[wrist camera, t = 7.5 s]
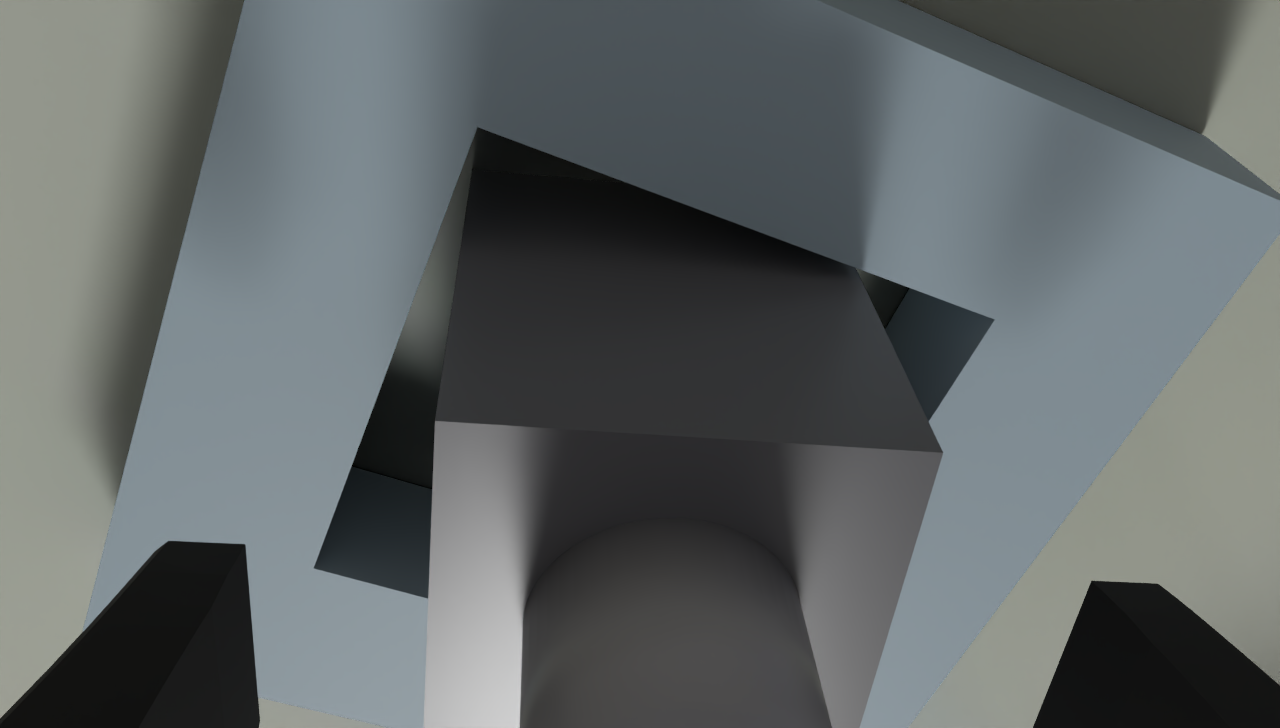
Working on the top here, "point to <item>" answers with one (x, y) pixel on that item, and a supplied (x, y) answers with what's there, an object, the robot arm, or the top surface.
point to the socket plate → (698, 177)
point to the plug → (661, 471)
